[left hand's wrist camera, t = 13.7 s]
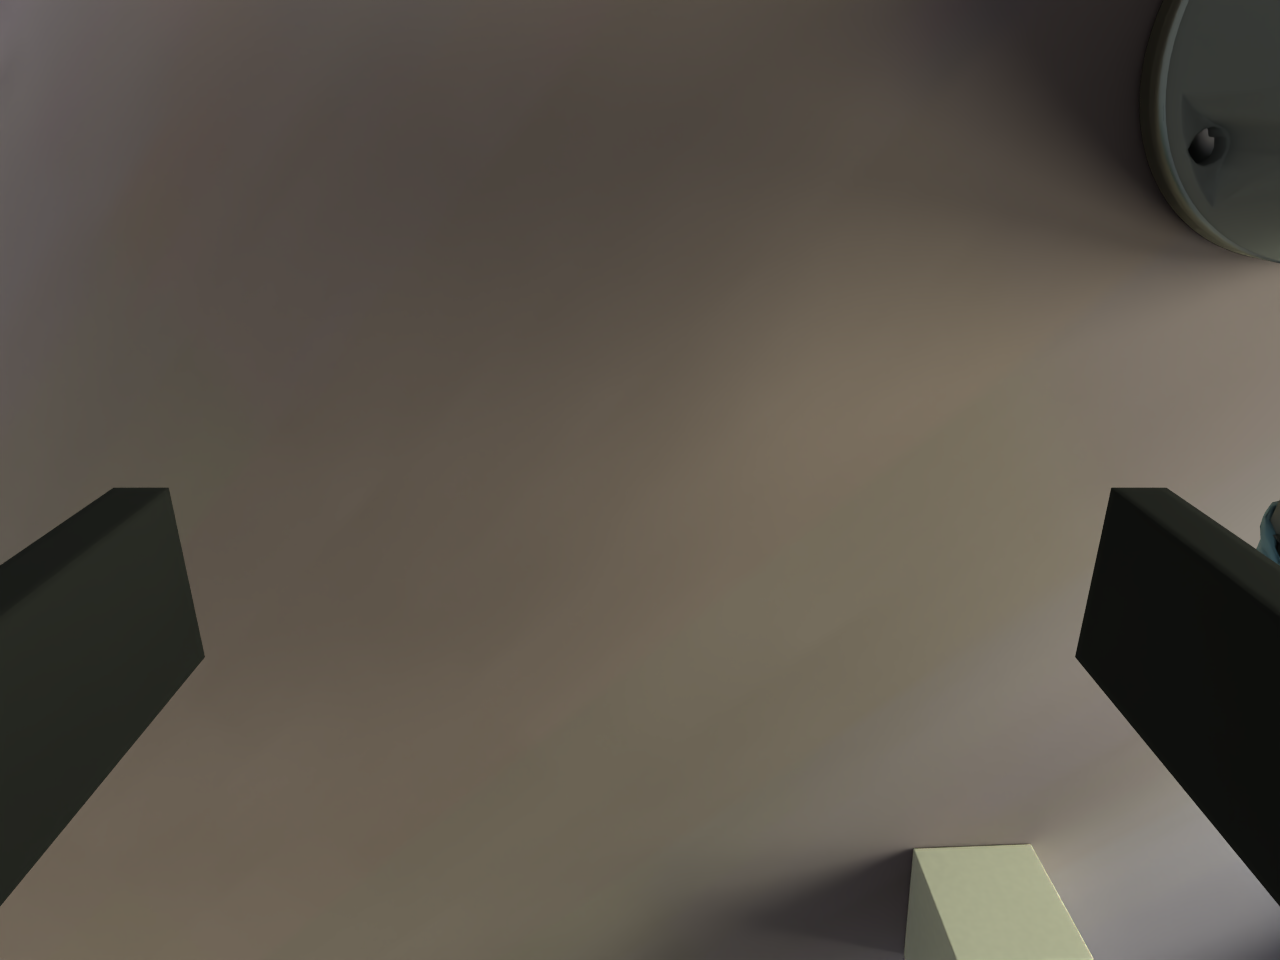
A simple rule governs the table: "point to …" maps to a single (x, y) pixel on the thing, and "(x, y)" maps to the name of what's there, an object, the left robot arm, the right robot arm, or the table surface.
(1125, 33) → the table surface
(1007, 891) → the block
